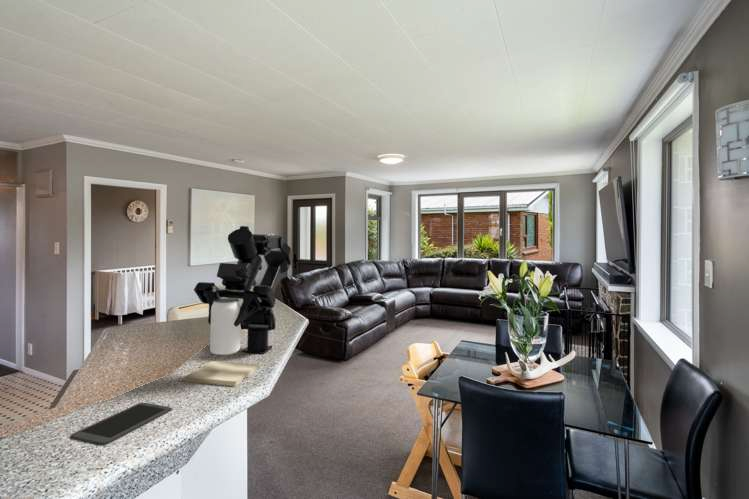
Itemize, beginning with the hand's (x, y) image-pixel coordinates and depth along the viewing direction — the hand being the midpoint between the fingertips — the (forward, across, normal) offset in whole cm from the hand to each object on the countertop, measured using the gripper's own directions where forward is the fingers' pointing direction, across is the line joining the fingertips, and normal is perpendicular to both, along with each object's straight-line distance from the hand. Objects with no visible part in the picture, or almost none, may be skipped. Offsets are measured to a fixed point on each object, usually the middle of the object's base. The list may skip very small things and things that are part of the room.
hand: (222, 324), depth 91 cm
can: (+4, 0, +6) cm, 7 cm away
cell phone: (+26, -4, -9) cm, 28 cm away
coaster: (+8, 0, +9) cm, 12 cm away
